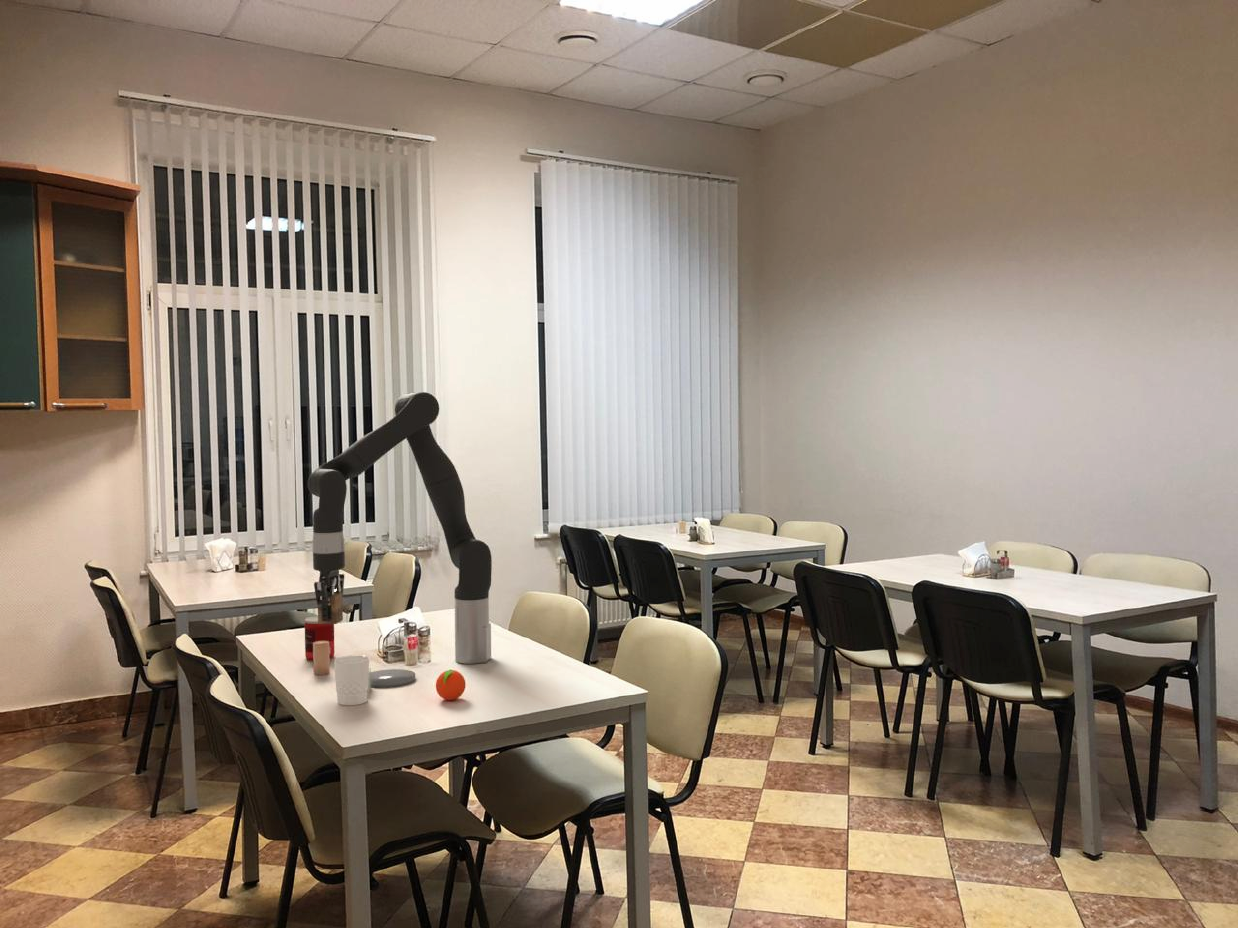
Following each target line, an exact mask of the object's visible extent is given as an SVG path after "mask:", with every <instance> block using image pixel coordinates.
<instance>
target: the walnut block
mask: <svg viewBox="0 0 1238 928" xmlns="http://www.w3.org/2000/svg"><path fill="white" fill-rule="evenodd" d="M343 606H344V605H343V597H342V592H340V593H334V595H333V596H332V597H331V620H330V621H322V610H321V606H320V605H317V616H318V624H334V625H337V624H338V623H340V622H343V620H344V617H343V616H344V614H343V612H344V611H343V608H344V607H343Z"/></svg>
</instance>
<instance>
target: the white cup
mask: <svg viewBox="0 0 1238 928" xmlns="http://www.w3.org/2000/svg"><path fill="white" fill-rule="evenodd" d="M333 662H334V679H335V680H334V681H335V690H336V697H337V698H336V699H337V704H338V705H340V706H357V705H362V704H365V703H366V702H367V701H368V696H369V694H368V683H369V668H370V657H369V656H367V655H363V654H362V655H360V654H359V655H357V654H356V655H355V654H353V655H345V656H339V657H336V658H335V659H334V660H333Z"/></svg>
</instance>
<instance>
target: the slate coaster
mask: <svg viewBox="0 0 1238 928" xmlns="http://www.w3.org/2000/svg"><path fill="white" fill-rule="evenodd" d="M415 681H416V673H415V672H414V671H413V670H408V669H401V668H400V669H399V668H397V669H395V668H391V669H389V668H387V669H380V670H379V669H378V670H375V671H371V688H372V687H373V688H395V687H401V686H406V685H409V684H411V683H413V682H415Z"/></svg>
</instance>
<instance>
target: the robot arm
mask: <svg viewBox="0 0 1238 928" xmlns="http://www.w3.org/2000/svg"><path fill="white" fill-rule="evenodd" d="M394 413H395V416H393V418H391V419H390V420H388V421H386V422H385V423H384V424H382V425H381V426H379V427H377V428H375V429H374V430H373V431H370V432H369V433H367V434H365V435H364V436H362V437H360V438H359V439H357V440H356V441H355V442H354V443H352V444H351V445H350V446H349V447H348V448H346V449H345V450H344V451H343V452H342V453H341V454H339V455H337V456H336V457H334V458H331V459H330V460H329V461H326V462H325V463H323V464H322V465H319V467H317V468H316V469H315V470H314V471H313V472H312V473H311V474H310V475H309V477H308V479H307V488H308V491H309V492H310V493H311V495H313V496H315V497H318V498H319V502H318V508H316V509H315V510H314V511H313V515H312V526H313V527H312V529H313V531H312V532H313V533H312V534H313V535H312V562H313V563H312V569H313V570H314V571H318V572H319V577H318V581H314V583H313V587H314V592H315V593H314V595H315V600H316V605H317V606H318V605H320V606H321V610H322V621H330V620H331V597H332V596H333V595H334V593H340V592H342V598H343V597H344V584H345V574H344V573H340V571H341V570H343V569H344V568H345V567H346V556H345V551H346V550H345V537H344V519H343V513H344V509H345V503H346V497H347V491H348V490H347V489H348V488H347V487H348V486H347V480H349V479H351V478H356V477H358V476H360V475H362V474H363V473H364V472H365V471H367V470H368V469H369V468H371V467H372V466H373V465H375V463H377V462H378V461H379V459H381V458H383V457H384V456H385V455H386V454H387V453H389V451H391V450H392V449H394V448H395V447H396V446H397V445H399V444H400V443H402V442H404V440H406V441H407V444H408V445H409V447H410V449H411V451H412V454H413V457H414V460H415V462H416V465H417V467H418V470H419V473H420V475H421V478H422V482H423V484H424V487H425V490H426V492H427V495H428V498H429V500H430V501H431V505H432V506H433V509H434V512H435V515H436V516H437V519H438V521H439V524H440V526H441V529H442V531H443V534H444V539H445V542H446V545H447V550H448V554H449V557H450V558H449V559H450V560H451V562H452V564H453V565H454V567H455V568H457V569H458V584H457V586H455V588H454V641H455V642H454V656H455V657H454V658H455V659H454V660H455V662H456V663H458V664H467V665H468V664H471V665H472V664H473V665H475V664H481V663H488V662H489V660H490V659H491V658H492V625H491V623H490V612H489V610H490V609H489V608H490V606H489V605H490V601H489V599H490V598H489V597H490V596H489V595H490V589H491V586H492V569H493V567H492V563H493V561H492V559H493V558H492V553H491V549H490V547H489V545H488V544H487V543H485V542H484V541H482V540H480V539H476V536H475V535H474V533H473V531H472V528H471V526H470V524H469V521H468V519H467V514H466V500H465V494H464V488H463V485H462V482H461V479H460V476H459V473H458V471H457V469H456V467H455V465H454V464H453V462H452V461H451V459H450V458H449V456H448V455H447V454H446V453H445V452H444V451H443V449H442V448H441V446H440V445H439V444H438V442H437V440H436V439H435V437H434V434H433V431H432V429H431V426H430V425H432V424H433V423H434V422H435V421H436V420H437V418H438V417H439V414H440V404H439V401H438V399H437V397H435V396H434V395H433V394H432V393H430V392H424V391H416V392H412V393H406V394H403V395H401V396H400V397H398V399H397V400H396V403H395V405H394Z"/></svg>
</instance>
